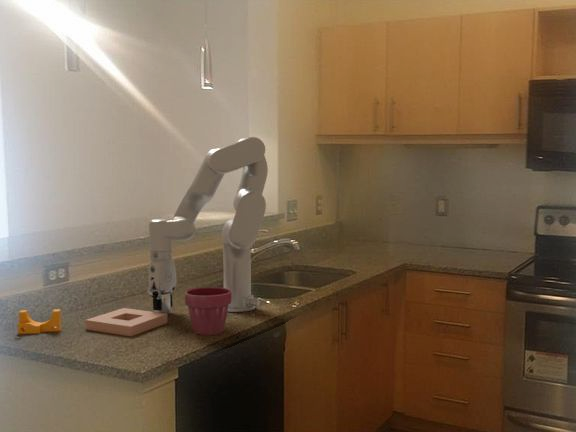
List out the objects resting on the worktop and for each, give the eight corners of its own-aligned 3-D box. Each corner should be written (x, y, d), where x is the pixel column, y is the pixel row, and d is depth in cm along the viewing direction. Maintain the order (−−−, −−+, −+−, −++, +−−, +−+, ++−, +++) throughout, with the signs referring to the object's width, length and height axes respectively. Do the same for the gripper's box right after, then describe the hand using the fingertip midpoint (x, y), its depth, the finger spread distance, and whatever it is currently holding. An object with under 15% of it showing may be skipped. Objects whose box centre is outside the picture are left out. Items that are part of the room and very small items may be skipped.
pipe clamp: (18, 334, 215) (17, 313, 214) (21, 330, 219) (21, 310, 218) (58, 333, 216) (57, 312, 215) (61, 329, 220) (60, 309, 219)
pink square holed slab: (167, 322, 227) (167, 313, 227) (131, 336, 211) (130, 326, 211) (124, 316, 235) (123, 307, 235) (85, 329, 219) (85, 319, 219)
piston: (174, 312, 240) (173, 286, 239) (164, 316, 236) (163, 289, 235) (161, 311, 243) (160, 285, 242) (151, 314, 238) (150, 288, 237)
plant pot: (210, 323, 226) (209, 284, 225) (241, 330, 217) (241, 290, 216) (176, 332, 215) (175, 291, 214) (207, 340, 206) (206, 298, 205)
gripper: (154, 260, 228) (156, 315, 230) (185, 252, 243) (186, 304, 245) (136, 258, 231) (138, 312, 233) (167, 251, 246) (169, 302, 248)
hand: (162, 307), depth 239 cm, fingers closed on piston, 5 cm apart
